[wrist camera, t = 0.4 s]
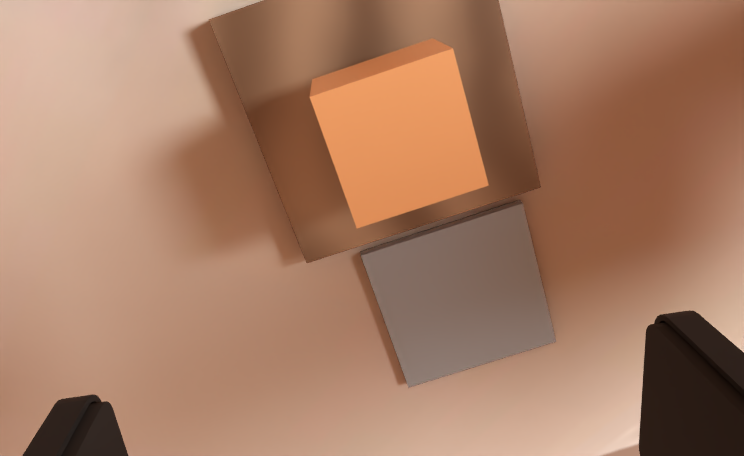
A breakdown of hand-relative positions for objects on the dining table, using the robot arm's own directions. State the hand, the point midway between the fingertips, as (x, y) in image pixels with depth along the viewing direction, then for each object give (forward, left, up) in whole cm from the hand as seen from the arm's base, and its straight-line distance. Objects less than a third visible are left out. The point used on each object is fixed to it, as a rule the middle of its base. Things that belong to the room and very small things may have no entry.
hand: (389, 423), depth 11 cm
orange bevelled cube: (-2, 0, -21) cm, 21 cm away
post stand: (-2, 0, -25) cm, 25 cm away
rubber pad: (-3, +13, -25) cm, 28 cm away
